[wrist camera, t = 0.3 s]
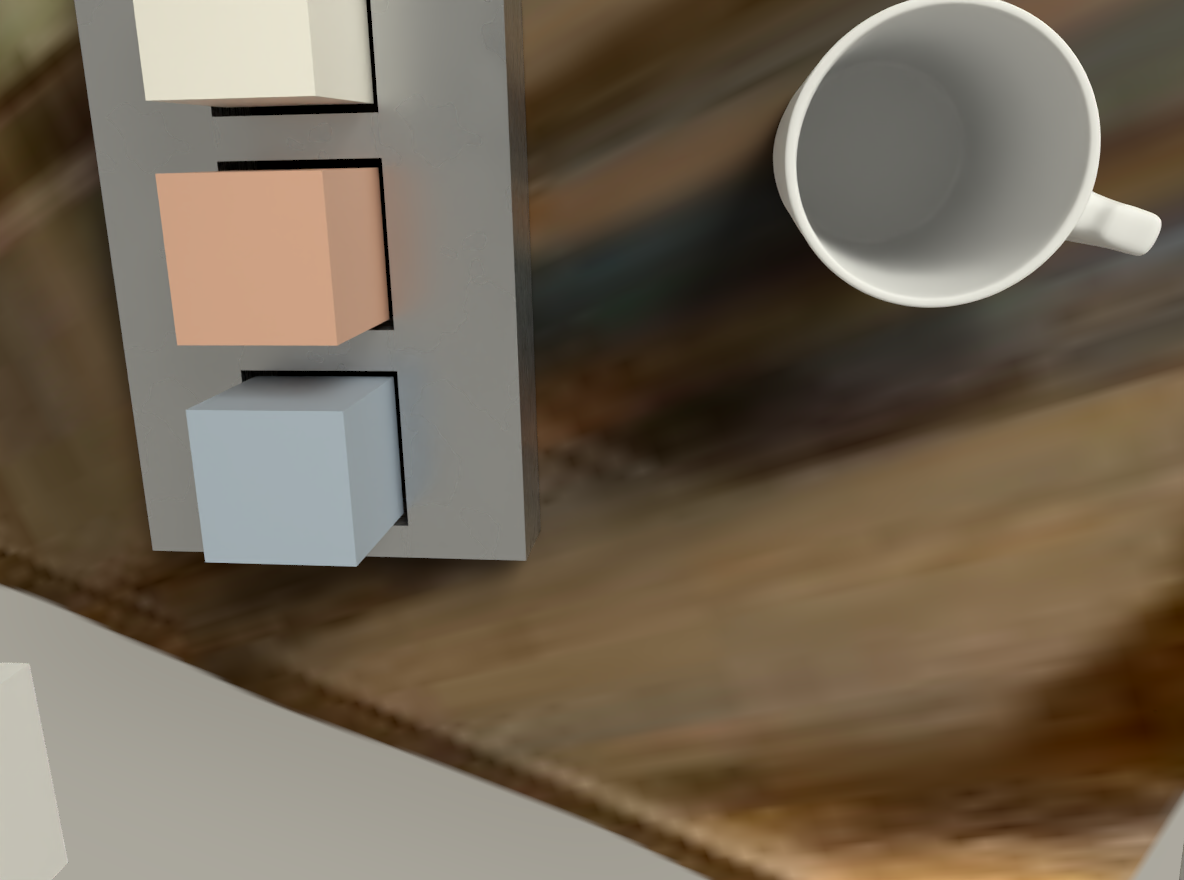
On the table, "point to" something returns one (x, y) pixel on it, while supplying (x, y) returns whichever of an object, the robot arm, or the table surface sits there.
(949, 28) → the mug
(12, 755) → the robot arm
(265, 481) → the slate key
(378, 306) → the terracotta key
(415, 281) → the grey slotted board
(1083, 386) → the table surface
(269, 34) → the cream cube
